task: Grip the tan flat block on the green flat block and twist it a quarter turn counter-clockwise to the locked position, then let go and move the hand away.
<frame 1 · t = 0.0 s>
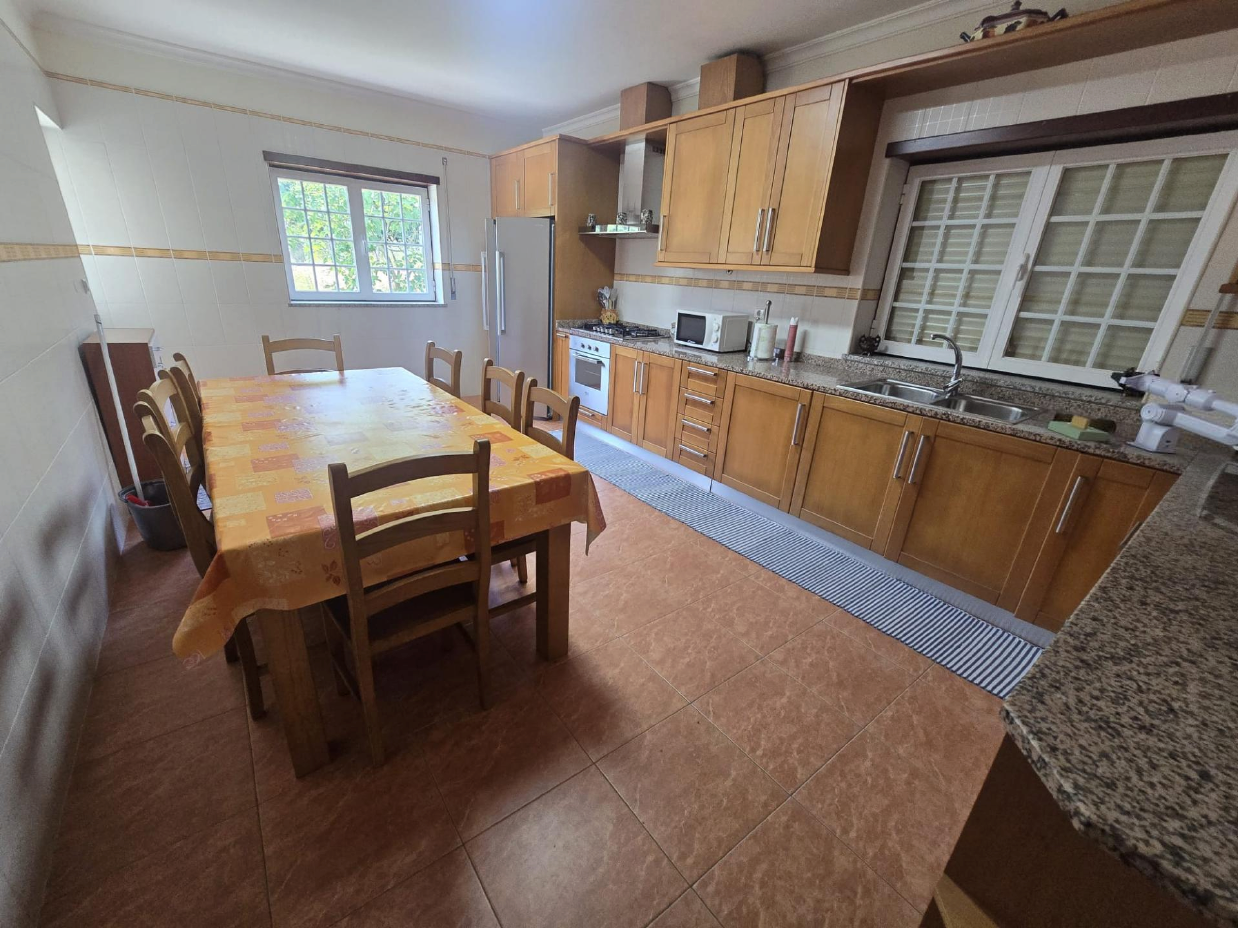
hand: (1122, 375, 185), 22 cm above the countertop, tool horizontal, fingers open, 7 cm apart
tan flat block: (1080, 421, 184), point 5 cm above the countertop, hinge at 0.0°
green flat block: (1075, 434, 186), on the countertop
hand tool: (1082, 426, 200), on the countertop
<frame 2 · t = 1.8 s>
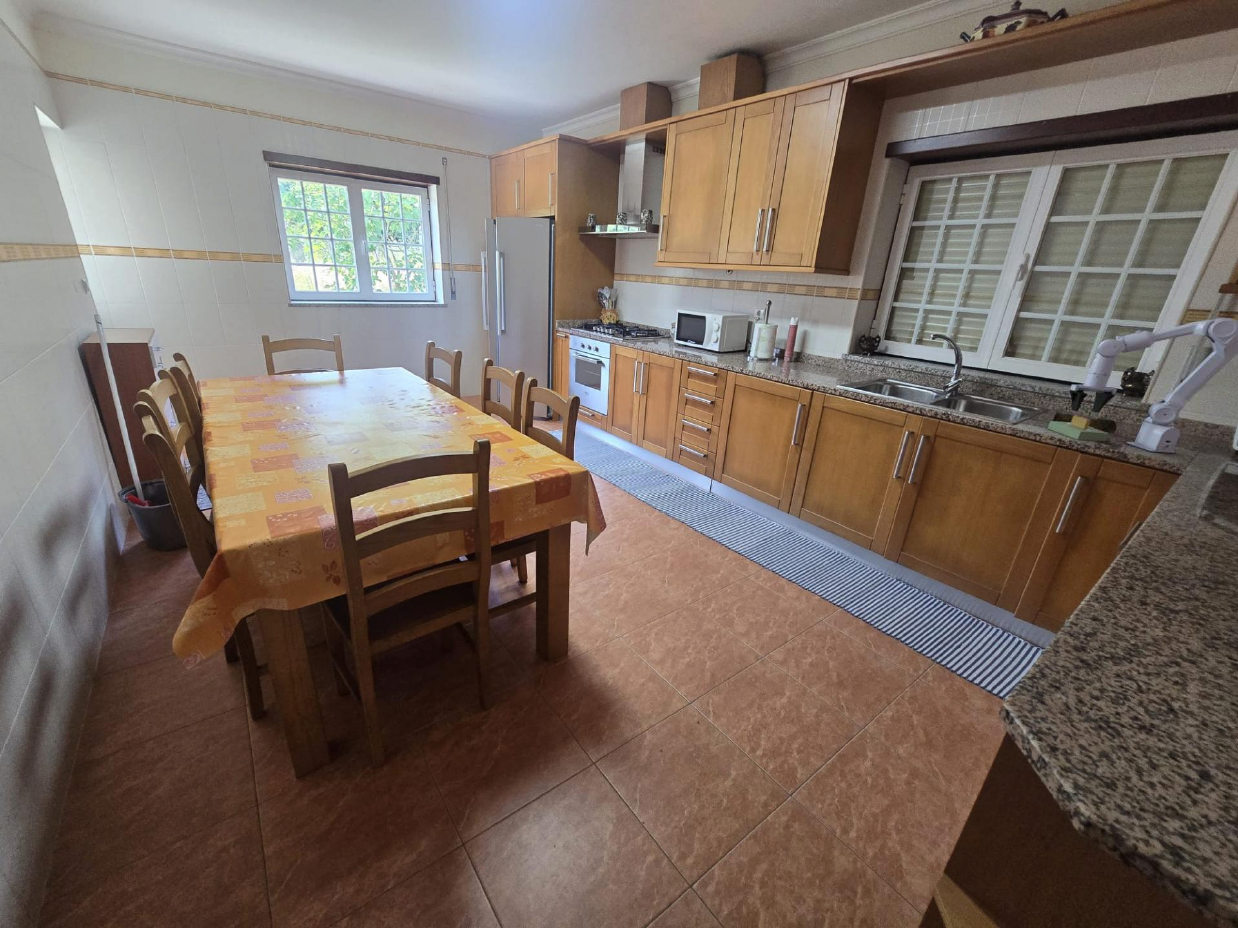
hand: (1084, 411, 183), 9 cm above the countertop, tool pointing down, fingers open, 7 cm apart
nothing on the countertop moved.
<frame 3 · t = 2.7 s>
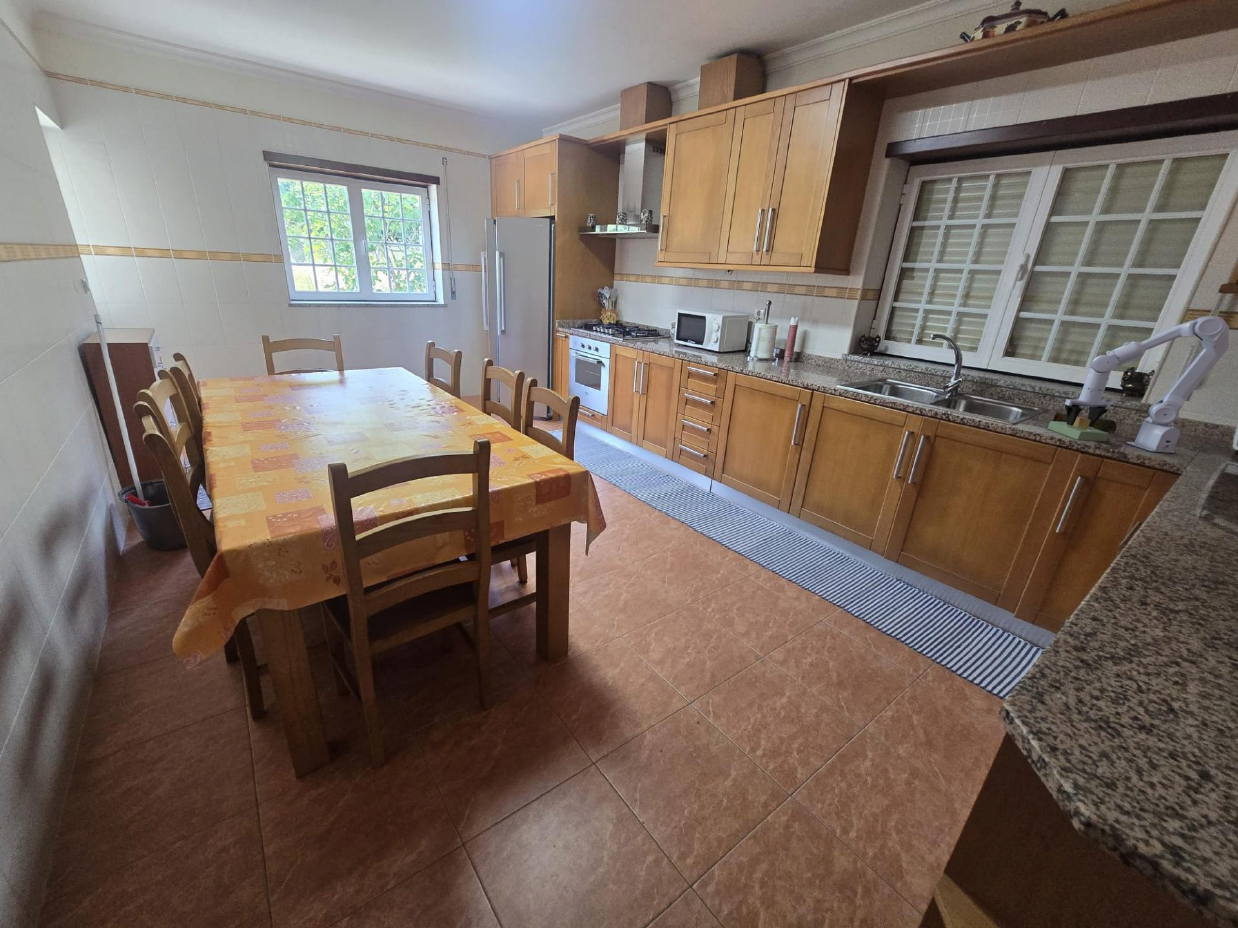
hand: (1079, 425, 184), 4 cm above the countertop, tool pointing down, fingers open, 6 cm apart
nothing on the countertop moved.
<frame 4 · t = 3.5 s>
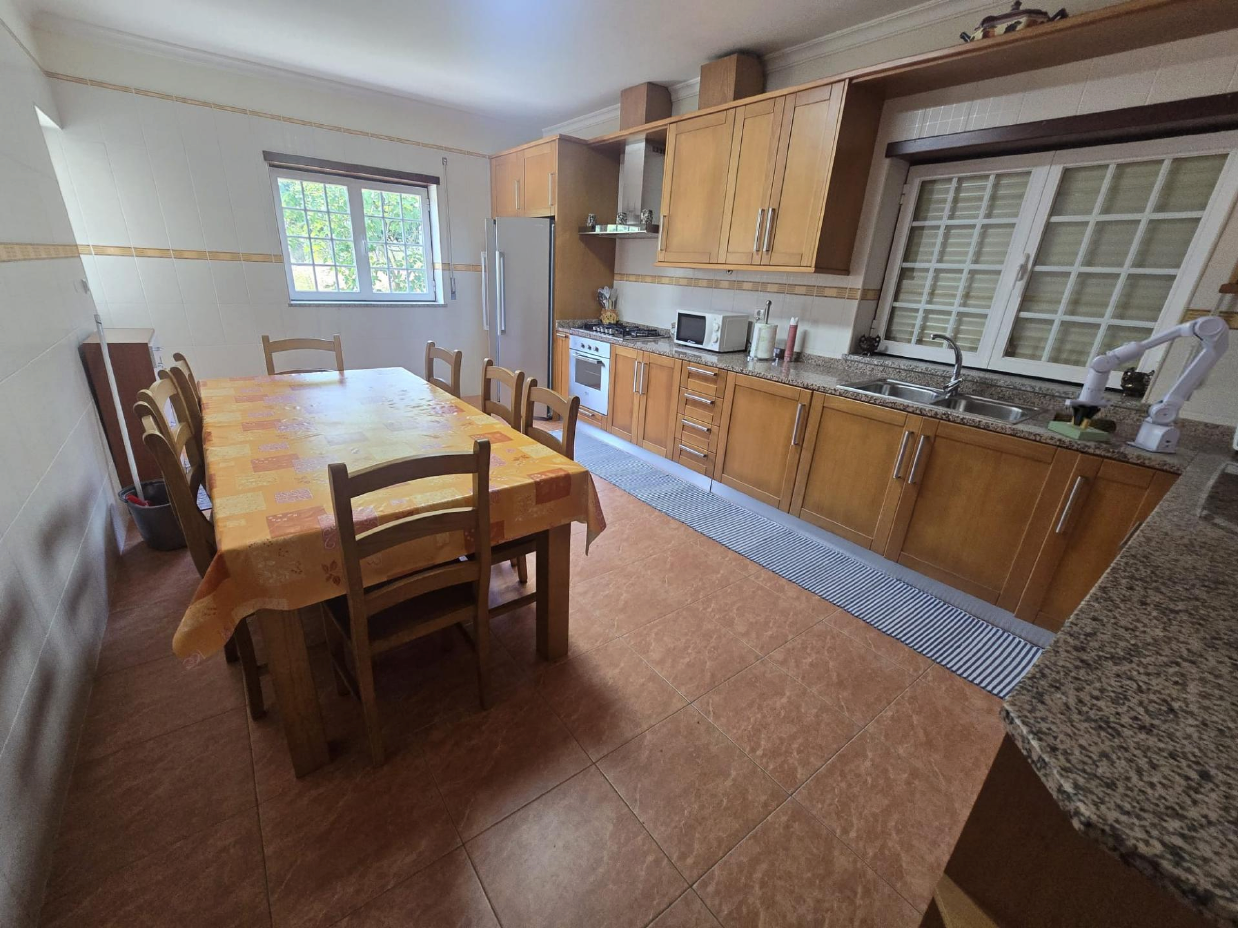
hand: (1079, 425, 184), 4 cm above the countertop, tool pointing down, fingers closed on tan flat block
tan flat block: (1080, 421, 184), point 5 cm above the countertop, hinge at -0.1°, touching gripper
everything else where it was.
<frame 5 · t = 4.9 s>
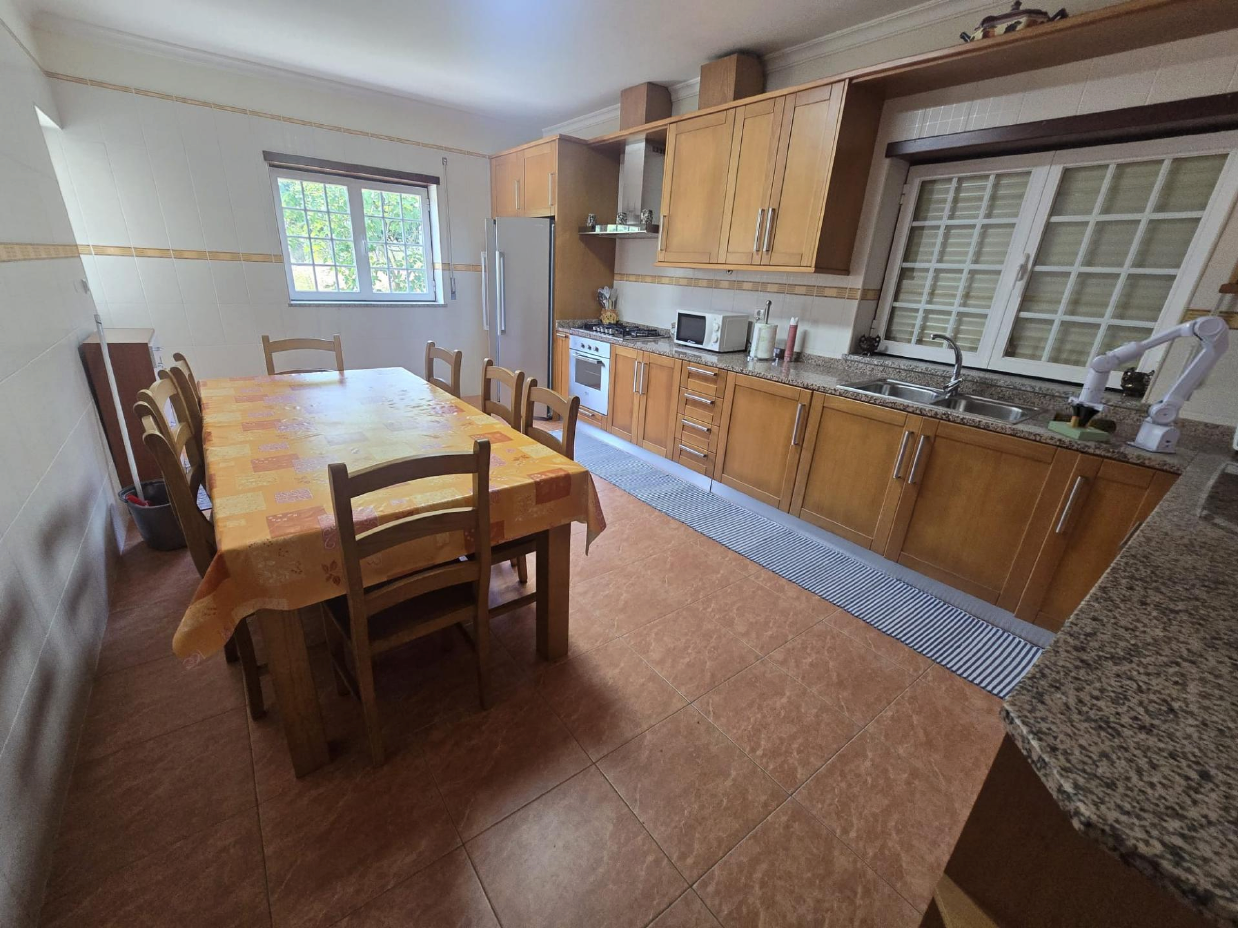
hand: (1079, 425, 184), 3 cm above the countertop, tool pointing down, fingers closed on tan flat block
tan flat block: (1080, 421, 184), point 5 cm above the countertop, hinge at 89.6°, touching gripper
everything else where it was.
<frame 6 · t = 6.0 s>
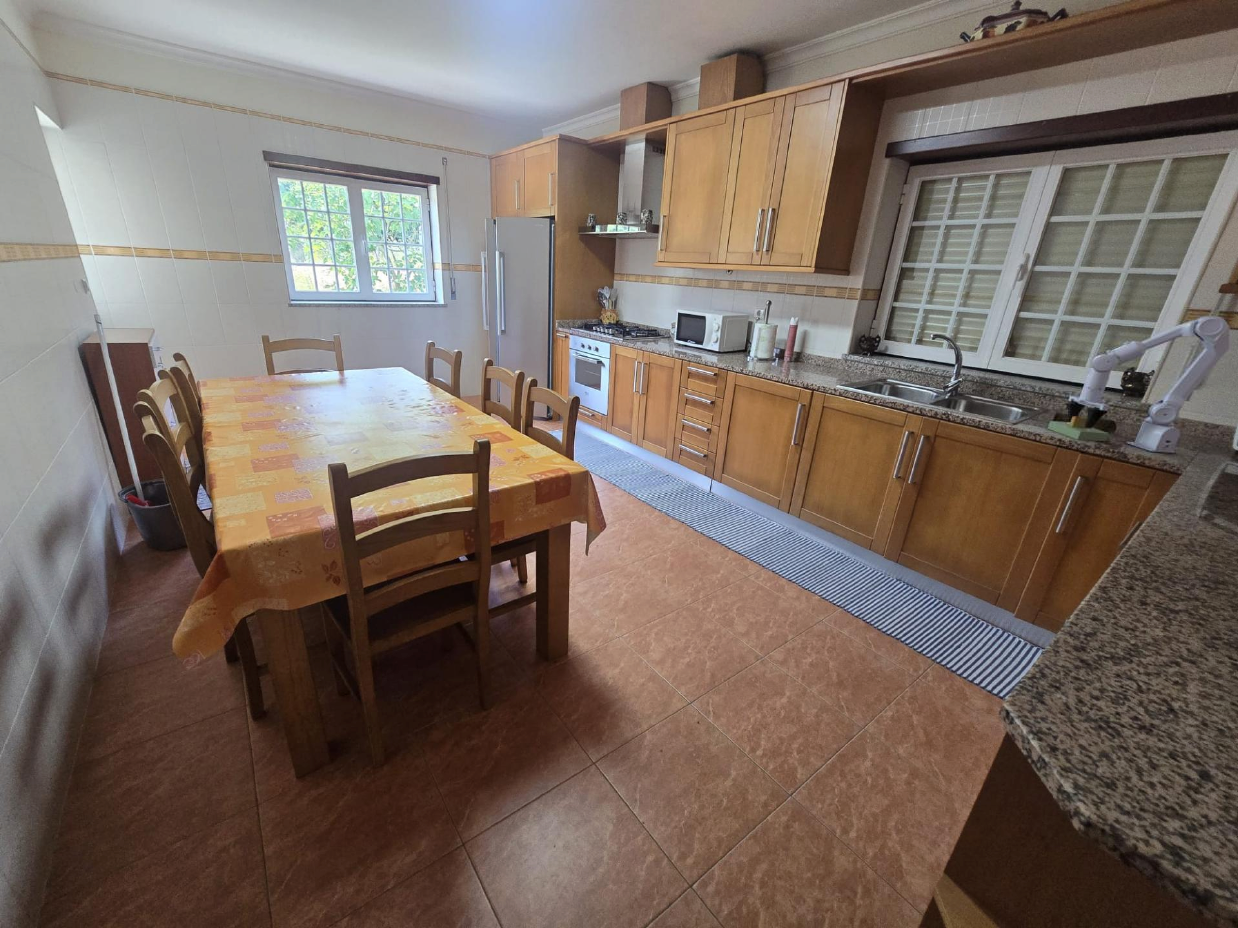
hand: (1079, 425, 184), 4 cm above the countertop, tool pointing down, fingers open, 7 cm apart
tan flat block: (1080, 421, 184), point 5 cm above the countertop, hinge at 89.6°
everything else where it was.
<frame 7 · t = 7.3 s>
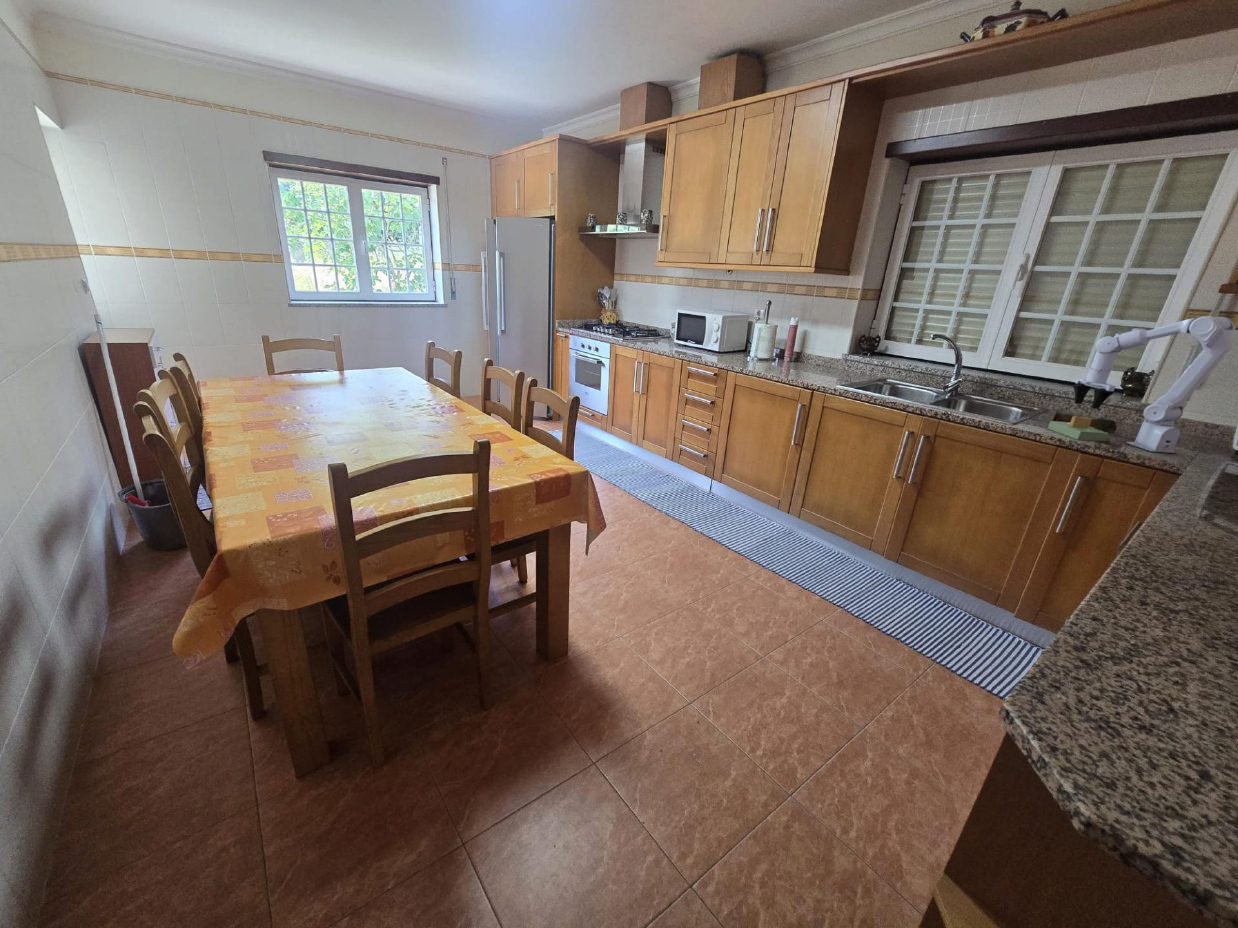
hand: (1086, 406, 190), 9 cm above the countertop, tool pointing down, fingers open, 7 cm apart
nothing on the countertop moved.
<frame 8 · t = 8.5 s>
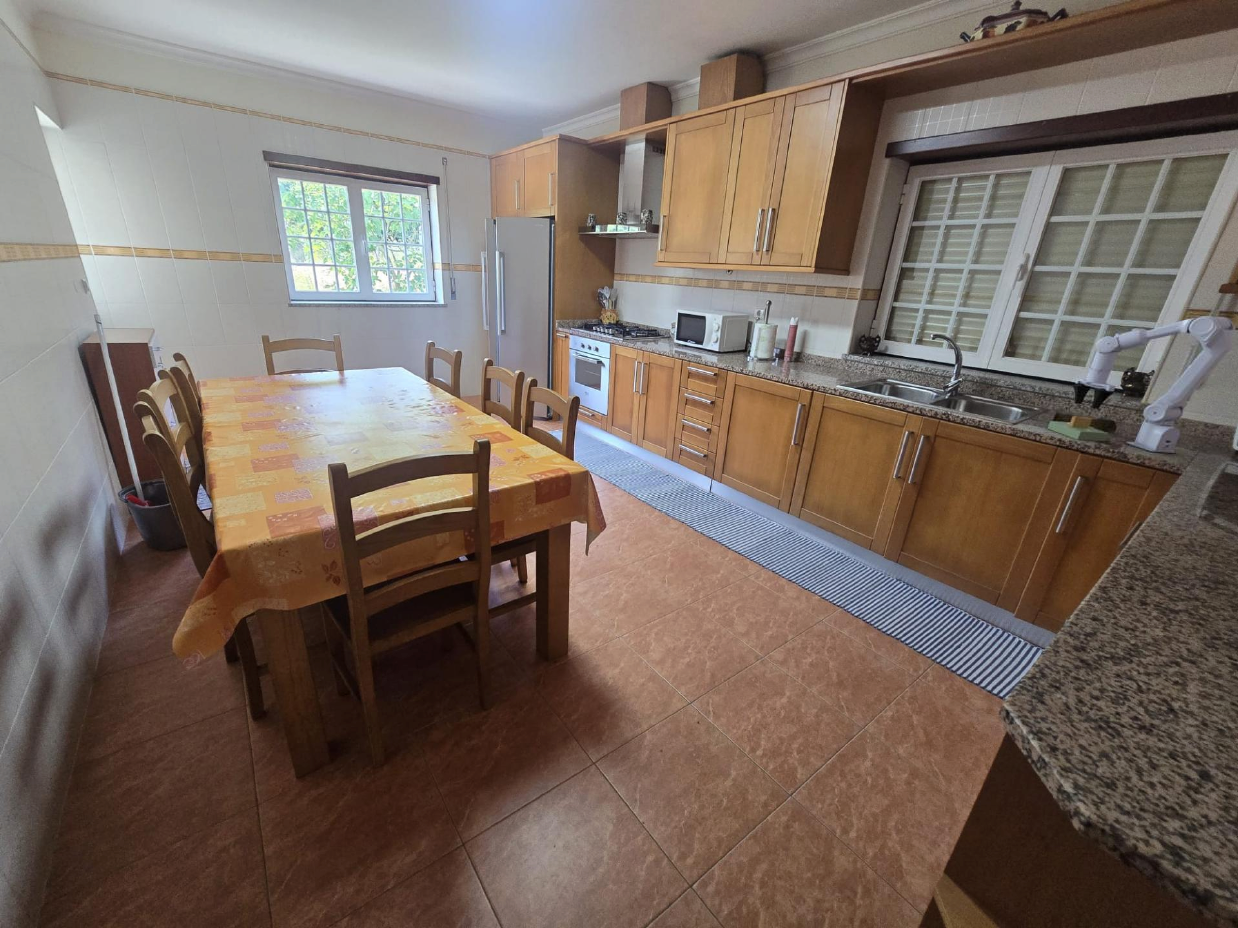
hand: (1086, 406, 190), 9 cm above the countertop, tool pointing down, fingers open, 7 cm apart
nothing on the countertop moved.
at the end: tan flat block at +90° (first picture: +0°) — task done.
